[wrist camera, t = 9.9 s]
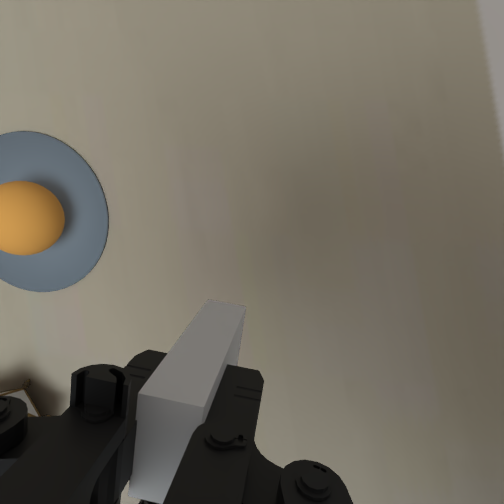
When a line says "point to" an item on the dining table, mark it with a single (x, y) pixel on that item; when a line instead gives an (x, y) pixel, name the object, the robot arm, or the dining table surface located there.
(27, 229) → the ball
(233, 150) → the dining table surface
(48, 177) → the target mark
